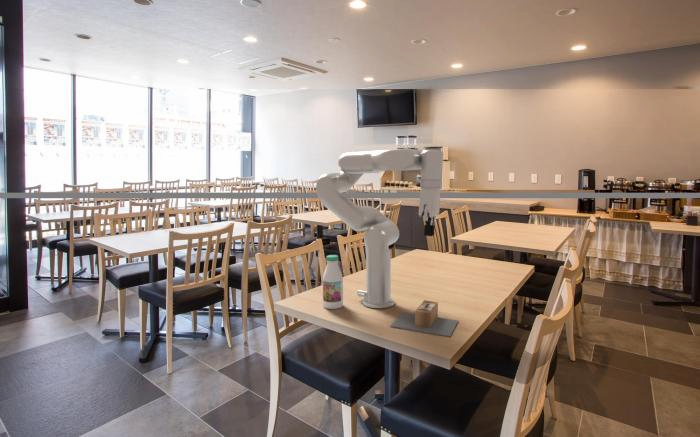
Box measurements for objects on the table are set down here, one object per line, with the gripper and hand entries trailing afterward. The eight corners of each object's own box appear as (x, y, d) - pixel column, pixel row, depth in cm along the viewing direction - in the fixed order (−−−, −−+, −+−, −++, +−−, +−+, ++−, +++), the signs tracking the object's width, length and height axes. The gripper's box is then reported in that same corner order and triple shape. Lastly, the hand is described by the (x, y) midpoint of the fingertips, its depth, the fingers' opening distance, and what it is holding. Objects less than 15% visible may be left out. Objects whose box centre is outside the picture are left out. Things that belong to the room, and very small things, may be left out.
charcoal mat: (390, 326, 134) (390, 325, 134) (402, 312, 147) (402, 311, 147) (450, 337, 126) (450, 336, 125) (458, 321, 138) (458, 320, 138)
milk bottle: (327, 302, 159) (326, 253, 157) (345, 303, 157) (345, 254, 154) (320, 308, 152) (319, 257, 149) (339, 310, 150) (338, 258, 147)
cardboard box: (424, 313, 145) (414, 325, 134) (424, 299, 144) (415, 310, 133) (437, 315, 143) (429, 327, 132) (438, 301, 142) (429, 312, 131)
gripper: (427, 183, 149) (425, 231, 152) (413, 185, 136) (412, 238, 139) (447, 184, 145) (445, 233, 148) (434, 186, 132) (432, 240, 135)
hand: (429, 235), depth 143 cm, fingers closed
